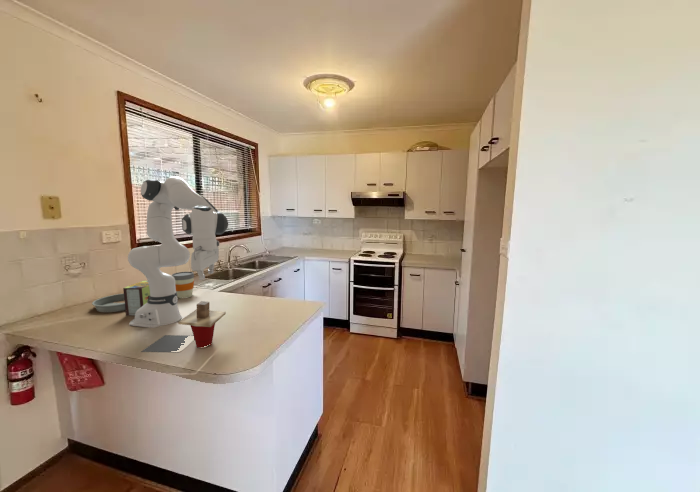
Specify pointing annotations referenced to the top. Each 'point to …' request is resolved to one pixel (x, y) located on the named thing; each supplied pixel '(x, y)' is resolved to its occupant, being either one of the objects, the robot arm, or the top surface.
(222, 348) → the top surface
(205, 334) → the plastic cup
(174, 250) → the robot arm
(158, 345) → the mat
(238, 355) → the top surface
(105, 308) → the cake pan
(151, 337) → the top surface
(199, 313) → the lid
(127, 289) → the protein box
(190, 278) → the reusable coffee cup
